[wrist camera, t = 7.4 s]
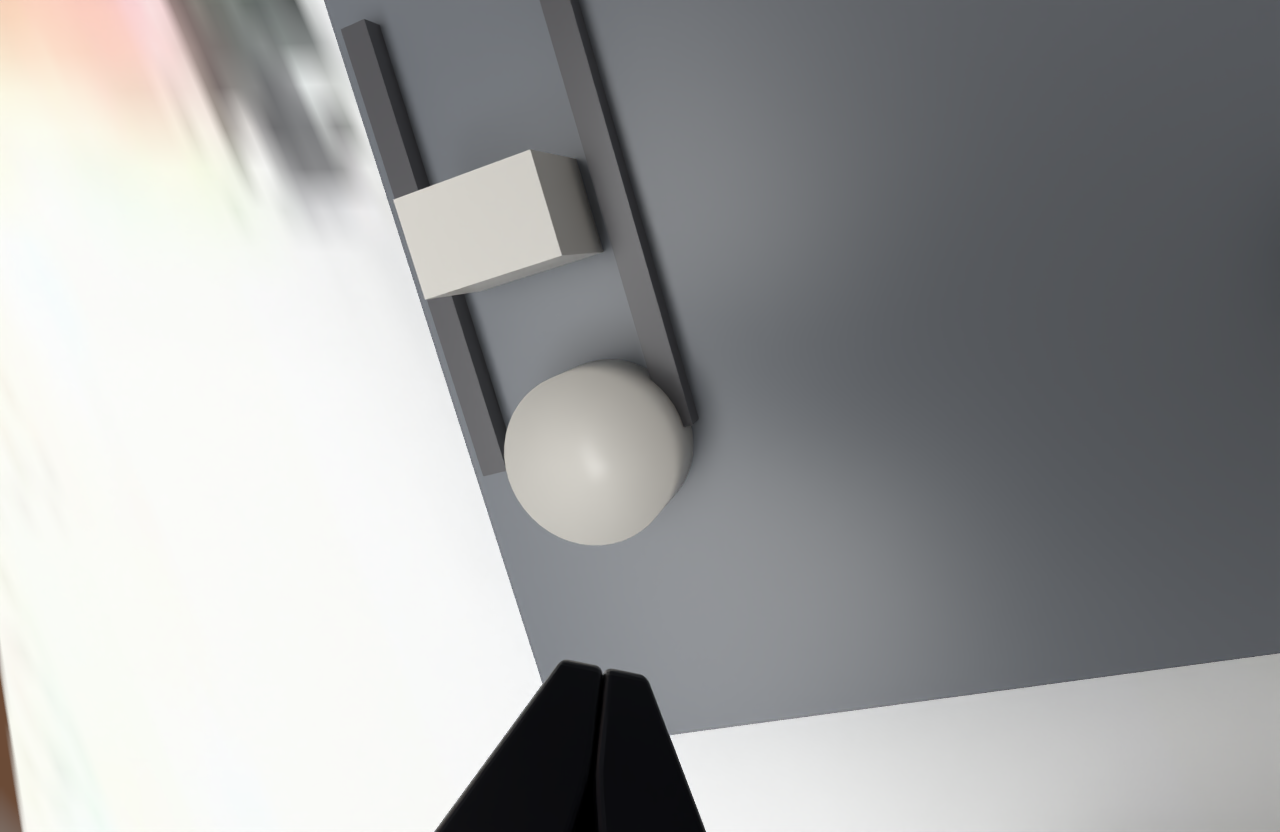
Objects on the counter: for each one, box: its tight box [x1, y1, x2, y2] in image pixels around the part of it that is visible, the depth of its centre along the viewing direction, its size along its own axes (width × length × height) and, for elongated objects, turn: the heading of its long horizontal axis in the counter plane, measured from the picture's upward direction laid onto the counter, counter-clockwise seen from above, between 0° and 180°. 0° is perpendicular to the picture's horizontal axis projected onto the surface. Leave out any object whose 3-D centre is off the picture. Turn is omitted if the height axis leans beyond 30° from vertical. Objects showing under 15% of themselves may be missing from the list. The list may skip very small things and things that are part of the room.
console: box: [324, 0, 1280, 735], centre depth 17 cm, size 24×22×4 cm
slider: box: [393, 149, 603, 300], centre depth 19 cm, size 2×3×2 cm, turn 107°
